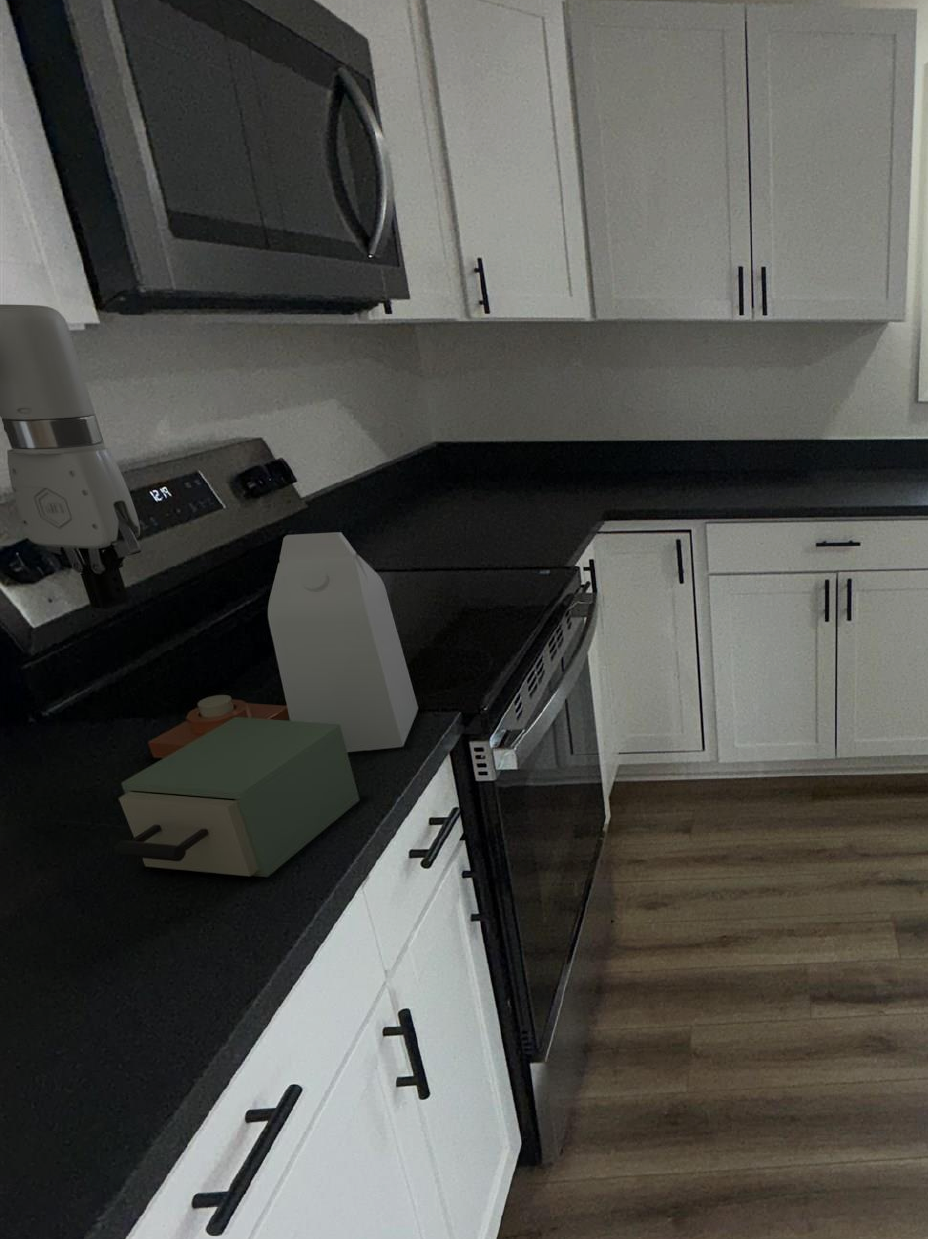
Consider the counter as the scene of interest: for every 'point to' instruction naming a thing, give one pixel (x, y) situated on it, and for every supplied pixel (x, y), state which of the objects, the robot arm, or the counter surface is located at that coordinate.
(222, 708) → the button
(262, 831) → the green drawer cabinet
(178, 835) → the beige drawer
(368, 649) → the milk
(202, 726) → the control block
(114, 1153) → the counter surface
